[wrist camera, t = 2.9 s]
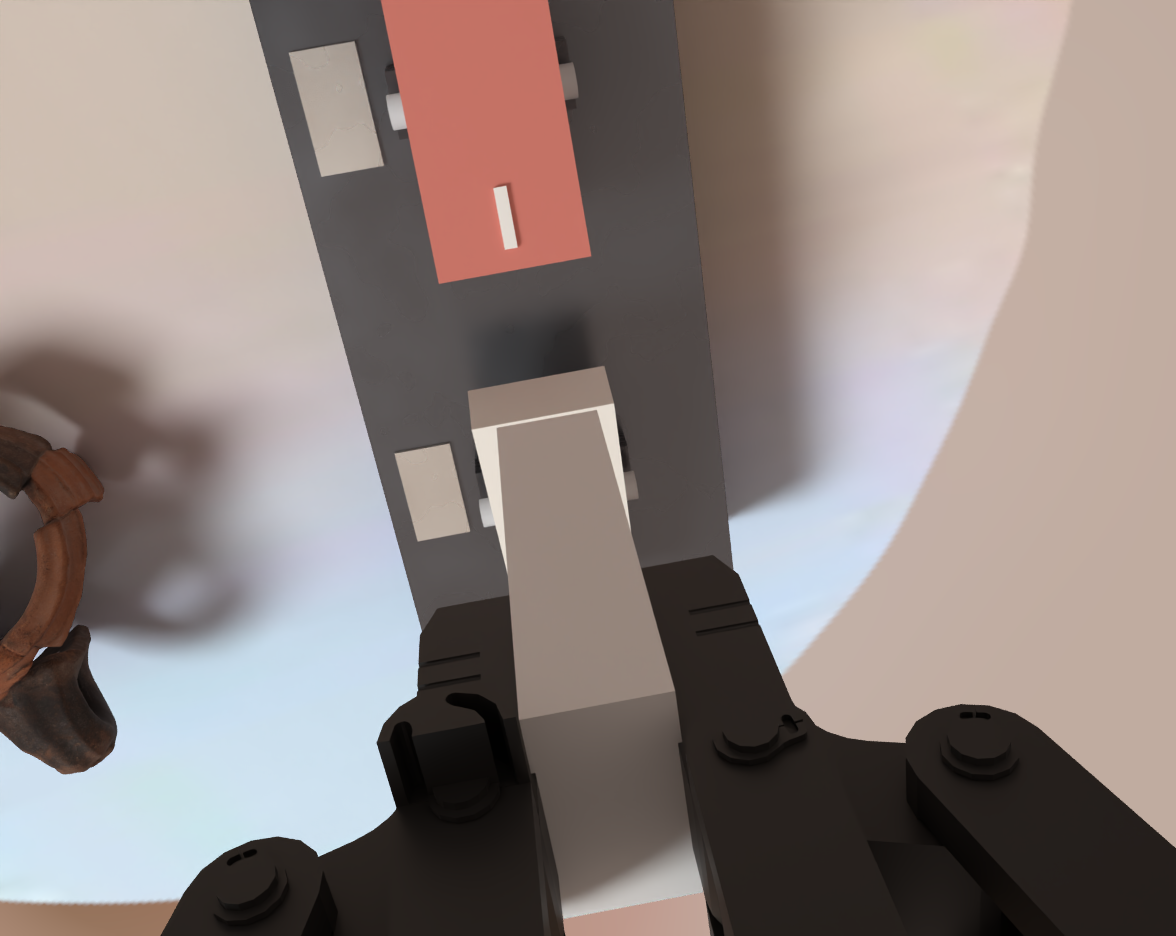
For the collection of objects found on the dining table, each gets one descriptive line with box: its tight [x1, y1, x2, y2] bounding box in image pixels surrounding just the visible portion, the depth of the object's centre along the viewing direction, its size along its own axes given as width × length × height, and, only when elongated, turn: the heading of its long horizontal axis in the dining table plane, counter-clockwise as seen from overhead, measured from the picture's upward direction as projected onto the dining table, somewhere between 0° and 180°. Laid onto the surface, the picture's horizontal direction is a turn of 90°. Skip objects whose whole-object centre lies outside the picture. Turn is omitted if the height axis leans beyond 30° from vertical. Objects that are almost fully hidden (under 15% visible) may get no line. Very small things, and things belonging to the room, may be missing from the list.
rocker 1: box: [381, 0, 591, 284], centre depth 25 cm, size 8×4×2 cm, turn 8°
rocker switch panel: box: [249, 0, 733, 631], centre depth 31 cm, size 26×10×5 cm, turn 9°
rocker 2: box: [468, 366, 639, 574], centre depth 31 cm, size 8×4×2 cm, turn 9°
